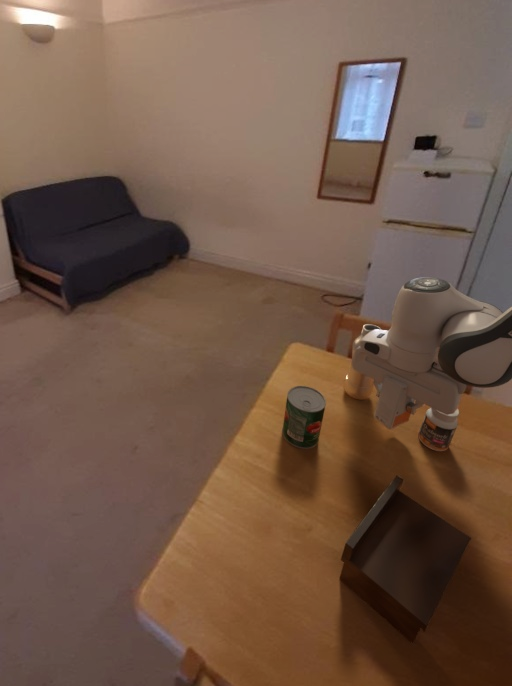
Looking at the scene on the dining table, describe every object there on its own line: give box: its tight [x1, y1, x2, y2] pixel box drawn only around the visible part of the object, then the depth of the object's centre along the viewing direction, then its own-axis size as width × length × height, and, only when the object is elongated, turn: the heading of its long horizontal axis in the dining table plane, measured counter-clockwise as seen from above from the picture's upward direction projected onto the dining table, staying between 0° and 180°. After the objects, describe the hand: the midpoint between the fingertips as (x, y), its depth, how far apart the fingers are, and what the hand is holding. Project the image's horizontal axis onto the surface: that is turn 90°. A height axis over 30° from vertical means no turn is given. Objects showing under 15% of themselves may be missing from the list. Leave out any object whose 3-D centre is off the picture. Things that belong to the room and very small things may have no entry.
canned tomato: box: [281, 385, 327, 450], centre depth 89 cm, size 8×8×11 cm
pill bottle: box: [418, 407, 460, 452], centre depth 86 cm, size 6×6×10 cm
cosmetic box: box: [373, 376, 416, 431], centre depth 87 cm, size 6×4×12 cm
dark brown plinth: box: [339, 475, 472, 644], centre depth 65 cm, size 12×18×9 cm, turn 129°
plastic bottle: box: [343, 323, 382, 401], centre depth 98 cm, size 6×7×20 cm
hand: (395, 403), depth 88 cm, fingers closed on cosmetic box, 5 cm apart
